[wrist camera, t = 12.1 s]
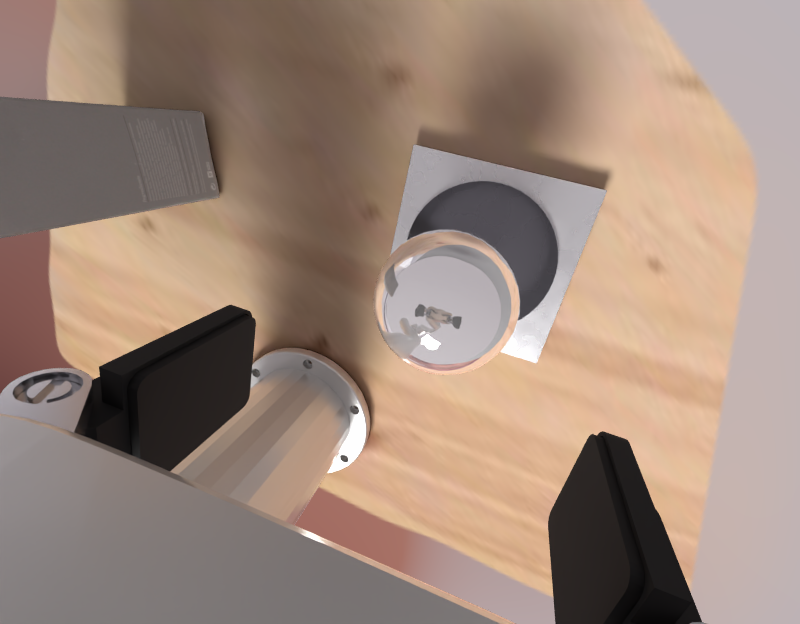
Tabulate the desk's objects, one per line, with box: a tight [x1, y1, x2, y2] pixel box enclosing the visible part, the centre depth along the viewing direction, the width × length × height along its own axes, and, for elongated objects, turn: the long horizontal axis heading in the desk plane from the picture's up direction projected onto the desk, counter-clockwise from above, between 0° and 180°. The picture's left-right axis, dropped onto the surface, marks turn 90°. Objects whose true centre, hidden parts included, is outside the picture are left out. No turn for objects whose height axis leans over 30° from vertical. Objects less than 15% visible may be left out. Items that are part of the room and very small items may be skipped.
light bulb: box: [373, 229, 521, 375], centre depth 22 cm, size 7×7×12 cm
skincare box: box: [0, 97, 220, 238], centre depth 25 cm, size 8×7×16 cm
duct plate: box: [391, 145, 607, 363], centre depth 27 cm, size 12×12×1 cm
